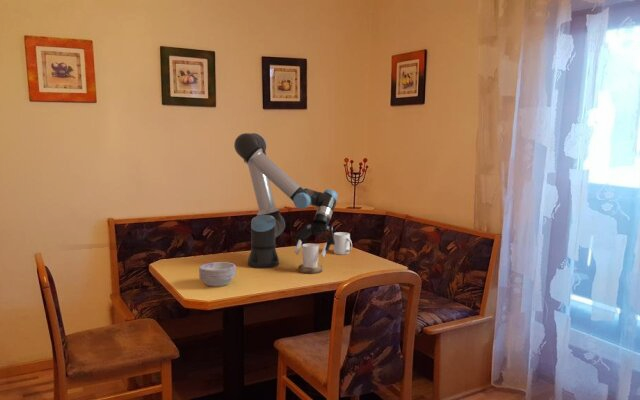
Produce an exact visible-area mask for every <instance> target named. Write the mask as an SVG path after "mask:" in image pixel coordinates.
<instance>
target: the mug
mask: <svg viewBox="0 0 640 400" xmlns="http://www.w3.org/2000/svg"><path fill="white" fill-rule="evenodd" d="M333 236H334V241H335V244H334V245H333V254H334V255H338V254H339V255H340V256H344V255H345V256H346V255H349V254H350V252H351V251H352V249H353V243H352V242H353V241H352V240H351V233H349V232H344V231H343V232H341V231H339V232H337V231H336V232H333Z"/></svg>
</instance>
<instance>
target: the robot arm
mask: <svg viewBox="0 0 640 400" xmlns="http://www.w3.org/2000/svg"><path fill="white" fill-rule="evenodd" d="M233 146H234V150H235V153H236V154H237V155H238V156H239V157H240V158H241V159H243V162H244V164H246V165H247V166H248V171H249V174H250V178H251V183H252V186H253V191H254V195H255V199H256V205H257V209H258V212H257V213H256V216H254V217H252V219H251V222H250V223H251V224H250V229H251V231H250V235H251V237H250V238H251V248H250V249H251V250H250V252H249V256H248V259H247V266H249V267H250V268H257V269H267V268H274V267H275V268H276V267H277V266H279V265H280V258H279V256H278V253H277V250H276V238H278V237H279V236H281V234H282V233H283V232H284V230H285V229H286V222H285V219H284V217H283V216H282V215H281V212H280V208H277V207H276V204H275V199H274V196H273V191H272V186H271V182H272V184H273V185H275V186H276V187H277V188H278V189H279V190H280V191H281V192H283V194H284V195H286V196H287V198H289V199H290V200H291V201H292V202H293V204H294V207H296V208H297V209H300V210H304V209H306V208H308V207H310V206H313V207H316V208H317V209H316V213H315V215H314V218H313V221H312V223H311V224H309V223H308V222H306V223H305V225H304V226H303V227H302V228H301V229H300V230H299V232H298V233H297V234H296V235H295V236H293V237H294V239H295V241H296V243H295V245H294V246H295V249H294V253H295V255H299V253H300V249H301V248H302V245H303V241H304V240H306V239H307V238H309V237H311V236H313V235H323V236H322V237H324V239H325V241H326V242H325V243H324V245H323V248H322V250H321V253H320V254H321V257H322V258H325V256H326V253H327V251H329V250H330V247H331V245H333V246H334V244H335V241H334V228H333V225H331V224H330V221H331V218H332V215H333V214H334V211H335V207H336V205H337V201H338V198H339V195H338V193H337V192H336V191H335V190H333V189H325V190H324V191H323V192H321V191H317V190H314V189H311V188H305V187H302V186H300V185H299V184H298V183H297V182H296V181H295V180H294V179H293V178H292V177H291V176H289V175H288V174H287V173H286V172H285V171H284V170H283V169H282V168H281V167H279V166H278V165H277V164H276V163H275V162H274V161H273V160H272V159H270V158H269V156H268V155H267V153H266V152H267V151H266V150H267V142H266V140H265V138H264V137H263V136H262V135H260V134H258V133H254V132H252V133H251V132H250V133H249V132H248V133H246V132H245V133H240V134H239V135H238V136H237V137H236V138H235V140H234V145H233ZM329 224H330V225H329ZM327 231H328V233H329V237H328V235H327V234H326V232H327ZM329 238H330V240H329Z"/></svg>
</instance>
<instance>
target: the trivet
mask: <svg viewBox="0 0 640 400" xmlns="http://www.w3.org/2000/svg"><path fill="white" fill-rule="evenodd" d="M298 272H299V273H301V274H304V275H314V274H316V273H317V274H320V273H322V272H323V266H322V265H321V264H318V266H317V267H314V268H307V267H304V266H303V263H302V264H299V266H298Z"/></svg>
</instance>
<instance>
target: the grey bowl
mask: <svg viewBox="0 0 640 400" xmlns="http://www.w3.org/2000/svg"><path fill="white" fill-rule="evenodd" d="M198 270H199V271H198V276H199V279H200V280H202V281H203V282H204V284H205V285H206V286H208V287H209V286H210V287H224V285H225V286H228V285H229V284H230V283H231V281H232V279H234V278H236V275H237V271H236V270H237V269H236V264H235V263H232V262H229V261H217V262H215V261H214V262H207V263H204V264H201V265H200V266H199V267H198Z"/></svg>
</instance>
